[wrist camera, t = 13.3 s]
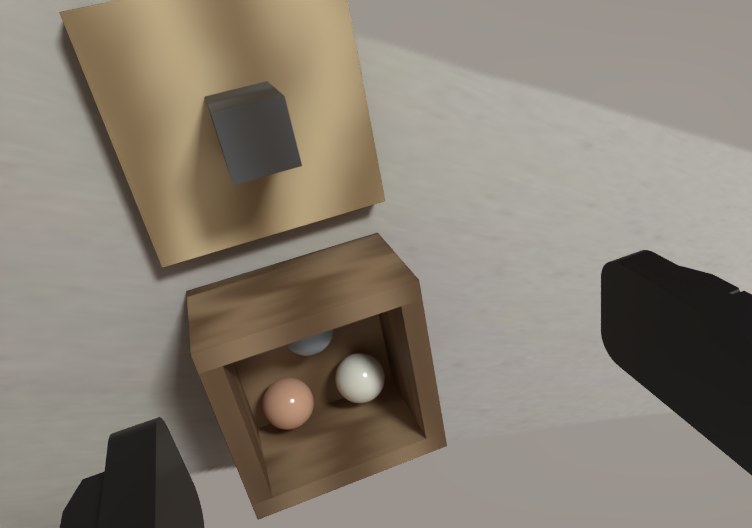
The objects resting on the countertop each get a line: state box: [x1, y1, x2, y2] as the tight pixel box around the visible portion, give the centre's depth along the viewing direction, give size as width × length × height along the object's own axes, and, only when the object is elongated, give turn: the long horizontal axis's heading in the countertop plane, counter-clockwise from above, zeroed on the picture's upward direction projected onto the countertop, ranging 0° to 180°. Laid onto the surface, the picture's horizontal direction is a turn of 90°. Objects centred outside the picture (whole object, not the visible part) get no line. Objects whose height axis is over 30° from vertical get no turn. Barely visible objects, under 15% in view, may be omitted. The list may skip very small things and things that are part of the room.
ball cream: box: [335, 353, 385, 403], centre depth 38 cm, size 3×3×3 cm
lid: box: [59, 0, 385, 268], centre depth 29 cm, size 13×13×7 cm
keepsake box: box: [187, 233, 447, 519], centre depth 36 cm, size 12×12×7 cm
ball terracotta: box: [262, 377, 314, 430], centre depth 37 cm, size 3×3×3 cm
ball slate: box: [286, 329, 334, 356], centre depth 35 cm, size 3×3×3 cm
